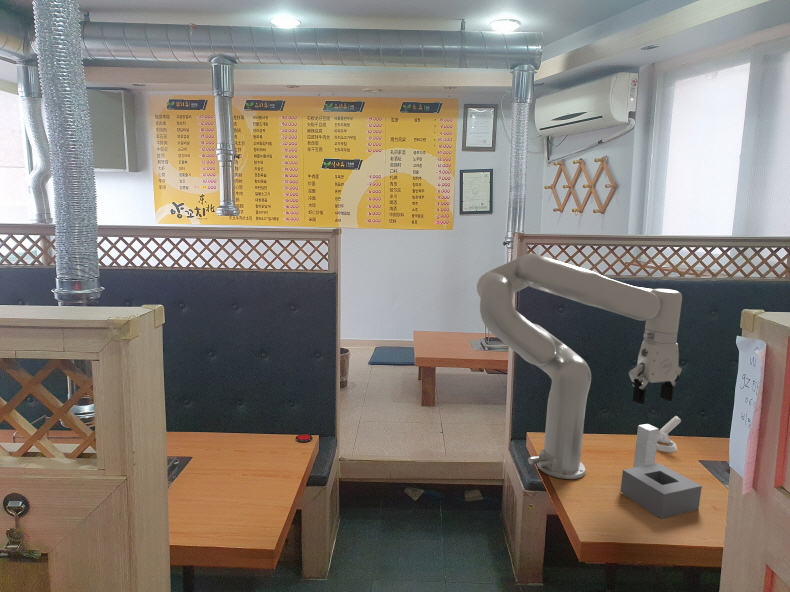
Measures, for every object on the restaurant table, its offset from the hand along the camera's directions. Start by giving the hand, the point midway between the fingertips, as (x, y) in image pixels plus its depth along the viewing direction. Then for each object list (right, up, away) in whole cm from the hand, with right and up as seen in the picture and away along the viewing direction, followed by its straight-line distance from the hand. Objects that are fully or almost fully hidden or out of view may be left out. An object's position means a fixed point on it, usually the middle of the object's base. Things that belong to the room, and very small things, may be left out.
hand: (652, 400), depth 137 cm
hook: (+13, -18, +21) cm, 31 cm away
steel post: (-1, -20, +3) cm, 20 cm away
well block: (-4, -22, -11) cm, 25 cm away
